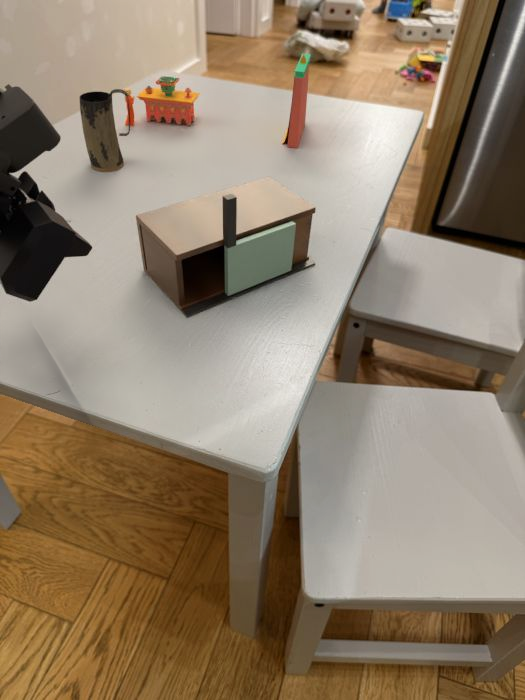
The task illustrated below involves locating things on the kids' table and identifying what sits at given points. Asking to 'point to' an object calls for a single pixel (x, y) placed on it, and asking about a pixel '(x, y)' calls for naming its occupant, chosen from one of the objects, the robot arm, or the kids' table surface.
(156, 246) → the cabinet
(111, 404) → the kids' table surface
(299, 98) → the building blocks
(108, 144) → the mug
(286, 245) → the sliding door
